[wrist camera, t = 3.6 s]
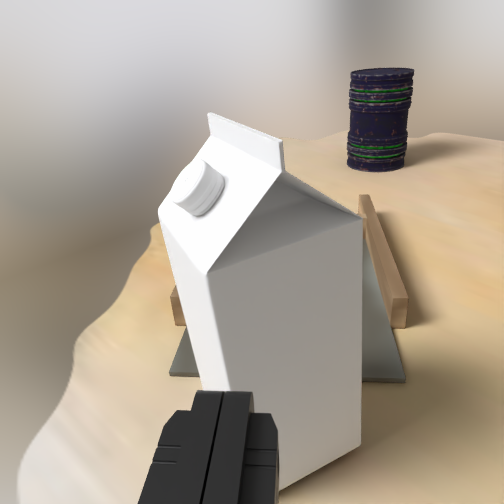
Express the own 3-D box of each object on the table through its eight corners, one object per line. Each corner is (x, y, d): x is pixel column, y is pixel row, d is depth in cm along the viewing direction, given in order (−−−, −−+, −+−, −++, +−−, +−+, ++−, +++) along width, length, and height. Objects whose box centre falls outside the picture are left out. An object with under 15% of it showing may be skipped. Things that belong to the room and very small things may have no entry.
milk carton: (299, 371, 30) (274, 98, 21) (362, 447, 25) (365, 119, 15) (208, 413, 28) (134, 128, 19) (254, 508, 22) (180, 167, 13)
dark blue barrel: (369, 176, 68) (376, 76, 61) (335, 161, 76) (337, 72, 69) (417, 165, 71) (429, 69, 64) (379, 152, 79) (386, 66, 72)
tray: (367, 216, 54) (368, 194, 53) (422, 383, 29) (428, 350, 28) (219, 219, 57) (217, 198, 55) (154, 375, 32) (147, 344, 30)
